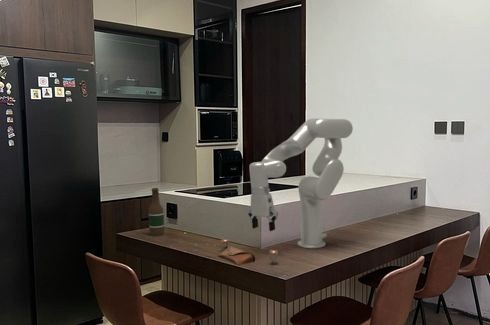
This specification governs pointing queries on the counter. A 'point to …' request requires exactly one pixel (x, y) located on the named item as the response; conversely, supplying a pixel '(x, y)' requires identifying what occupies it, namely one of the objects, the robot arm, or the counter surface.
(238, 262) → the sunglasses case
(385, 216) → the counter surface
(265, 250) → the counter surface
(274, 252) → the line post
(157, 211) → the beer bottle
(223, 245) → the line post
